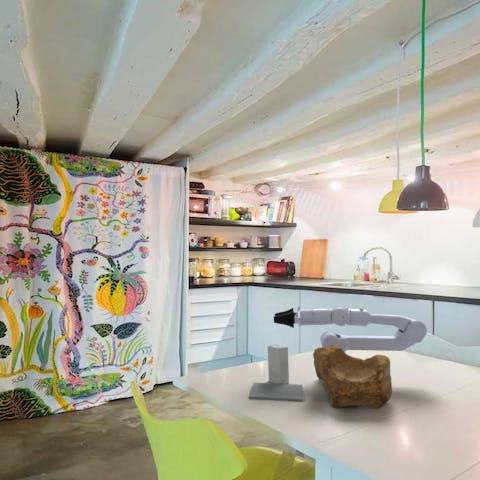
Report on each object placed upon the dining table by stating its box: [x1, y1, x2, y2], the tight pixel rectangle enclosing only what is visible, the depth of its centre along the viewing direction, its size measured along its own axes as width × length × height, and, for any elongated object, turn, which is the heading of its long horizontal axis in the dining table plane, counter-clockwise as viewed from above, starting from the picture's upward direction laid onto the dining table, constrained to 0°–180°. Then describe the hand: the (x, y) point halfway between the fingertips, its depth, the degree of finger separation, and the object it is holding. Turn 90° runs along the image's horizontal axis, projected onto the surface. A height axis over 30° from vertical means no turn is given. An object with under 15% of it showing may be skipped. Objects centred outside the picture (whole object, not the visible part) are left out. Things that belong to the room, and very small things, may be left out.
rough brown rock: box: [312, 346, 393, 409], centre depth 119 cm, size 23×17×15 cm
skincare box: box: [267, 344, 290, 384], centre depth 138 cm, size 6×4×12 cm
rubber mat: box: [248, 382, 304, 402], centre depth 128 cm, size 16×14×1 cm
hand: (274, 318), depth 146 cm, fingers open, 7 cm apart
